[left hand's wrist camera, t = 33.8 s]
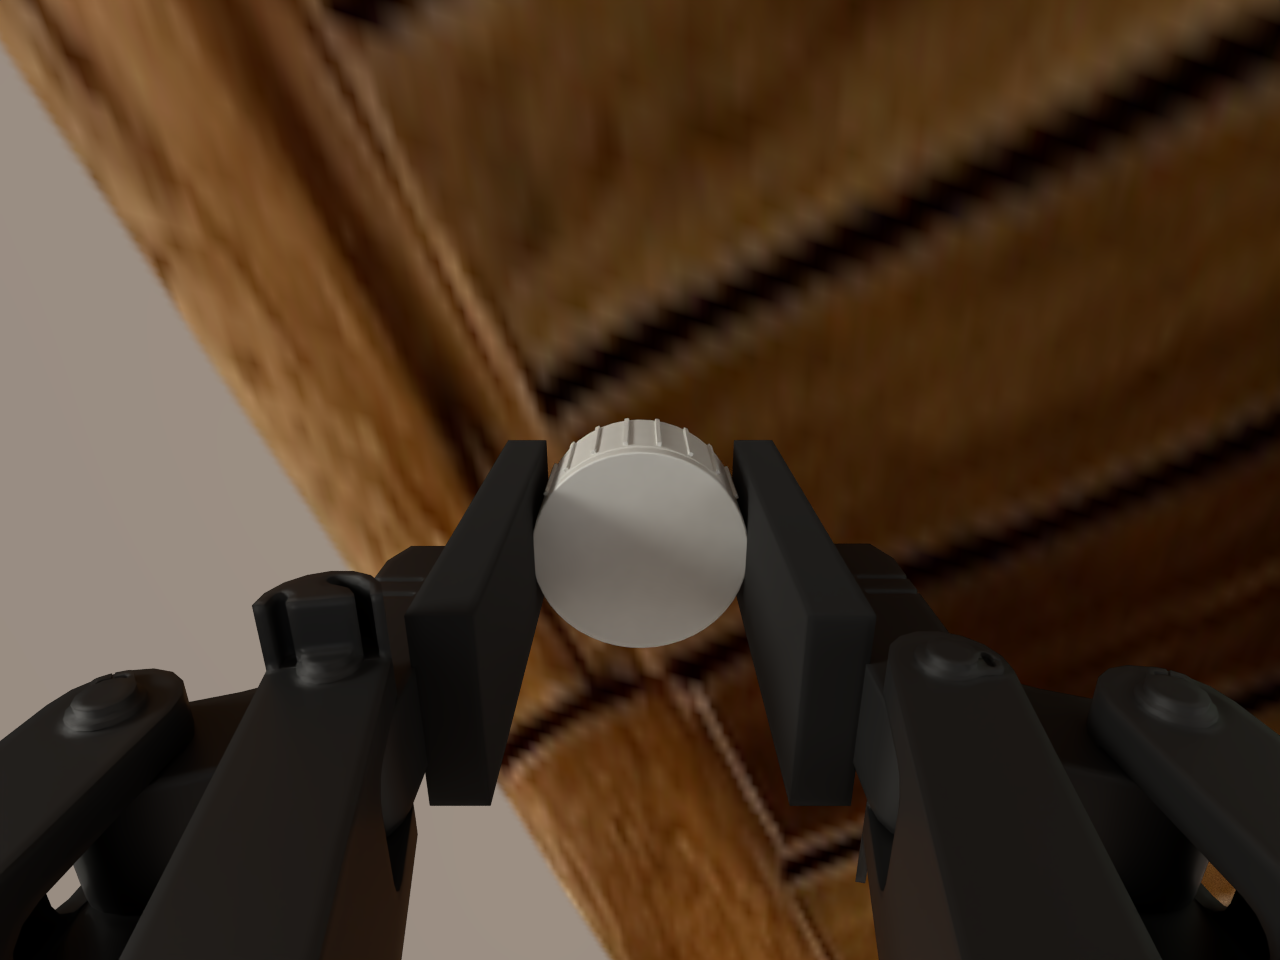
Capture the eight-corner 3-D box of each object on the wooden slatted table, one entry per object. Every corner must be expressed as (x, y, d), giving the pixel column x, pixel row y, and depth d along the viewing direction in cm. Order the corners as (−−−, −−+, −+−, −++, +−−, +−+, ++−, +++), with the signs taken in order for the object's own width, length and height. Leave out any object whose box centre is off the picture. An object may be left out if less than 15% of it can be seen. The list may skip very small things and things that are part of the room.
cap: (526, 572, 15) (509, 626, 13) (565, 394, 13) (552, 424, 11) (706, 611, 15) (716, 669, 13) (761, 442, 14) (780, 478, 12)
